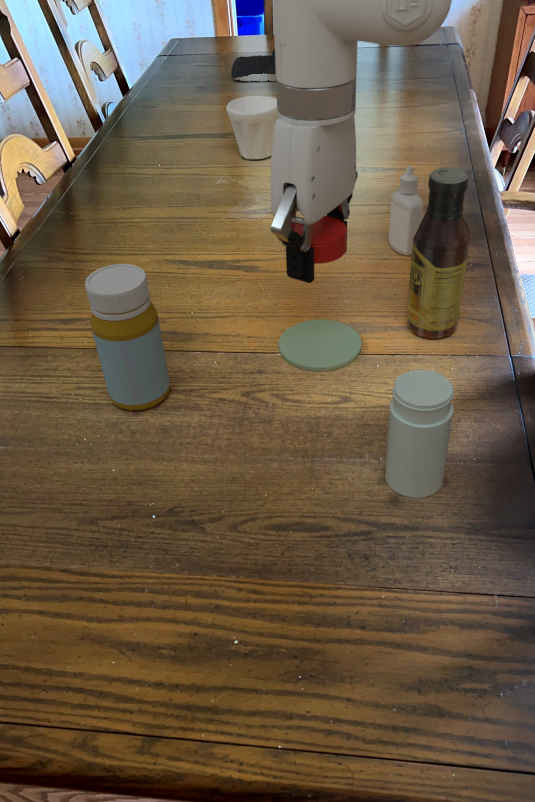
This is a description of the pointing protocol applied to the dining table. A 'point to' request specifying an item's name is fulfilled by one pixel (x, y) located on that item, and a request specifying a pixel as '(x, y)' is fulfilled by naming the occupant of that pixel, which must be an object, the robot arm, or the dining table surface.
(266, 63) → the black sneaker
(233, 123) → the cup
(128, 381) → the bottle
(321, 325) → the coaster
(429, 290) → the sauce bottle
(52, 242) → the dining table surface
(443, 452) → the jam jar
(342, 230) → the cap
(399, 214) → the eye dropper bottle
